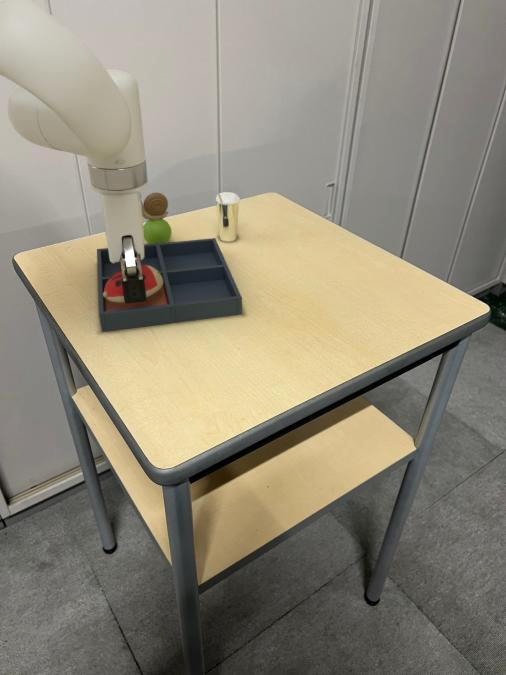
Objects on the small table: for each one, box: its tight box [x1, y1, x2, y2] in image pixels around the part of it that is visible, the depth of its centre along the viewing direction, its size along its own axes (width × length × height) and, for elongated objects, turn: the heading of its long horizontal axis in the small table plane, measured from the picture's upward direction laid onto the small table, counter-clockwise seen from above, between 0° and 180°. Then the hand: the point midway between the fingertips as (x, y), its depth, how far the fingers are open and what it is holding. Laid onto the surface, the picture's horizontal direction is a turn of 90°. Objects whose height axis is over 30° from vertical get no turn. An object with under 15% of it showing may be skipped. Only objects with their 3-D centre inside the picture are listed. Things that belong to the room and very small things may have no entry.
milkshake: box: [215, 191, 241, 243], centre depth 99 cm, size 4×5×10 cm
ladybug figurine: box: [103, 265, 163, 303], centre depth 79 cm, size 7×10×4 cm
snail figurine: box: [140, 192, 173, 244], centre depth 96 cm, size 5×6×12 cm
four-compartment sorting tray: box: [96, 237, 243, 333], centre depth 86 cm, size 21×21×3 cm
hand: (133, 287), depth 80 cm, fingers closed on ladybug figurine, 7 cm apart
